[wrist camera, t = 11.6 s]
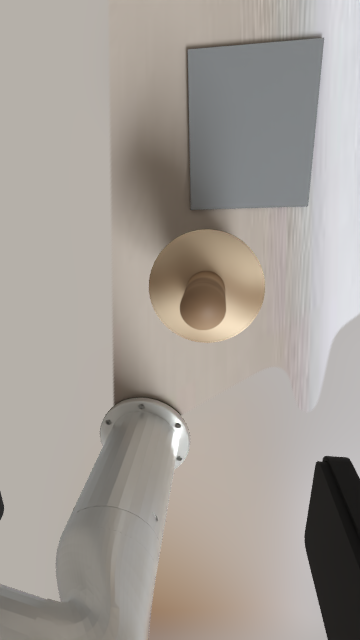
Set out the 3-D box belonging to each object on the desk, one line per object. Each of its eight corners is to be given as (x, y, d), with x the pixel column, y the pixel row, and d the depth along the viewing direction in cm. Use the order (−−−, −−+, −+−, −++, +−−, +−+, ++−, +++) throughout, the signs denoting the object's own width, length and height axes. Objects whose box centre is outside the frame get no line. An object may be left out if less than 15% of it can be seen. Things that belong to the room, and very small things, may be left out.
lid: (261, 339, 29) (269, 372, 24) (154, 338, 31) (139, 368, 25) (266, 227, 26) (279, 235, 21) (147, 230, 27) (128, 239, 22)
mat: (307, 206, 34) (307, 206, 34) (191, 209, 36) (190, 209, 35) (322, 39, 30) (324, 37, 29) (188, 51, 31) (187, 49, 31)
